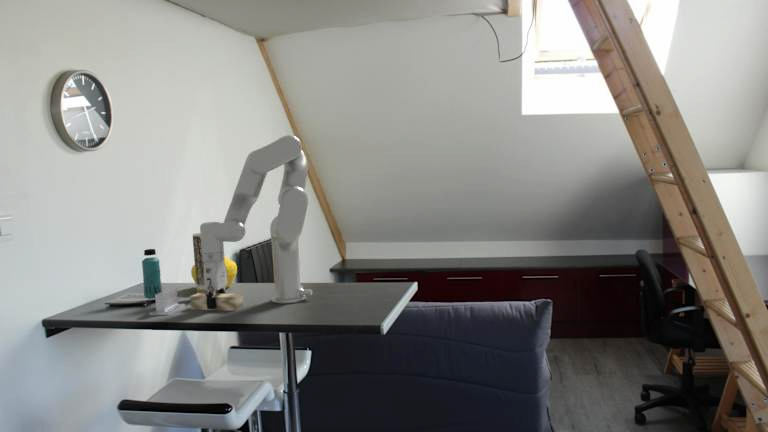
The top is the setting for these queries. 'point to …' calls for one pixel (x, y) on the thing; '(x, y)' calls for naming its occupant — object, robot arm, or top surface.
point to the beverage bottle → (151, 275)
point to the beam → (217, 302)
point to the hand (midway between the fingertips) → (216, 305)
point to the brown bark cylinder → (198, 263)
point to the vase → (230, 270)
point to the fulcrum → (167, 302)
